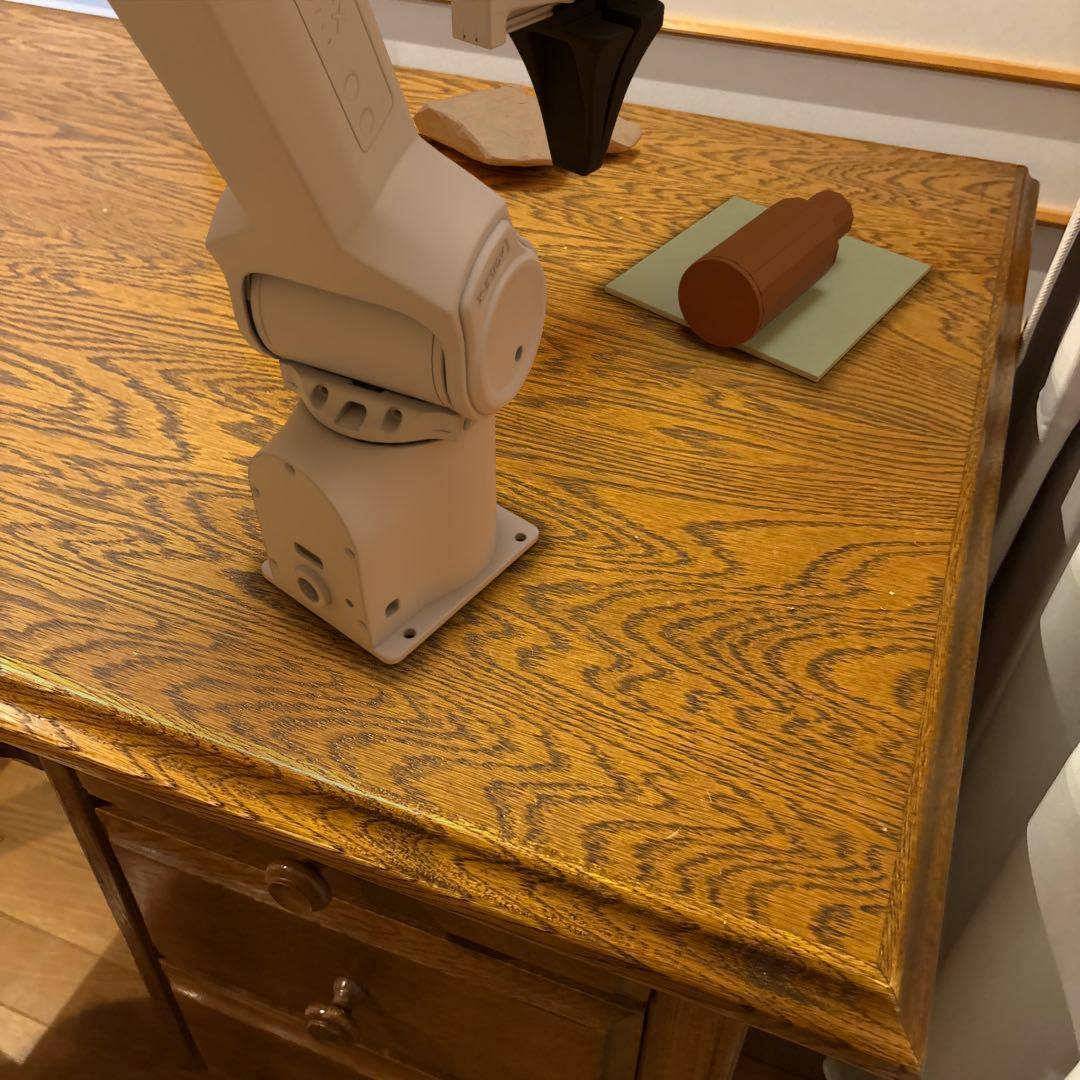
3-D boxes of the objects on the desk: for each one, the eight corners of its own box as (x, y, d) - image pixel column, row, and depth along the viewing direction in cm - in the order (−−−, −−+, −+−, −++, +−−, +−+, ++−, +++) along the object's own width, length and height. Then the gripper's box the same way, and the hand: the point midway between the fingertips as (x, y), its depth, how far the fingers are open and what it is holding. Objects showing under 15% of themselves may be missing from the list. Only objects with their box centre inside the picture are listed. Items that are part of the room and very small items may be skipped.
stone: (669, 113, 67) (457, 130, 62) (664, 168, 69) (458, 189, 65) (584, 70, 78) (398, 82, 73) (582, 119, 80) (401, 134, 75)
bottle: (767, 279, 50) (879, 188, 57) (683, 246, 52) (801, 162, 59) (750, 361, 53) (857, 266, 60) (672, 327, 55) (784, 239, 63)
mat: (816, 383, 53) (818, 376, 52) (604, 291, 59) (604, 285, 58) (929, 271, 61) (931, 265, 61) (733, 201, 67) (734, 195, 67)
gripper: (619, -219, 43) (599, 98, 53) (381, -172, 35) (409, 192, 45) (761, -197, 40) (712, 135, 50) (535, -139, 32) (529, 244, 42)
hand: (576, 166), depth 47 cm, fingers closed
